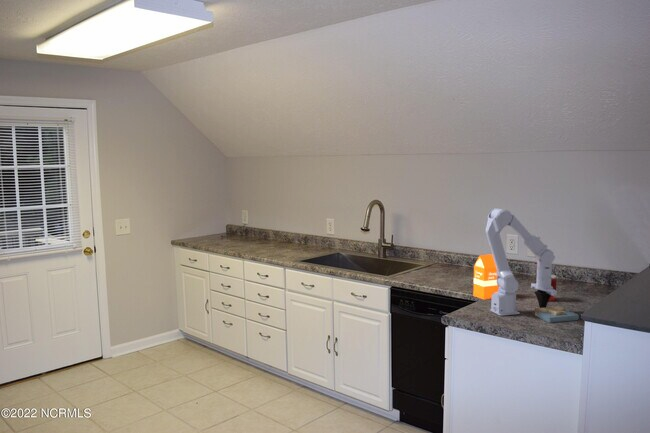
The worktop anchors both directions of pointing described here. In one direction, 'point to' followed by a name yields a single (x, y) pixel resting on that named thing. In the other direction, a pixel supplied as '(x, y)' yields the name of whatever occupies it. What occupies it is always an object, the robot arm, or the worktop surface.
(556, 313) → the t block
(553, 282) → the canned food
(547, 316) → the dock
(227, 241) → the worktop surface
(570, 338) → the worktop surface
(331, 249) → the worktop surface
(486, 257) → the orange juice
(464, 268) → the worktop surface
